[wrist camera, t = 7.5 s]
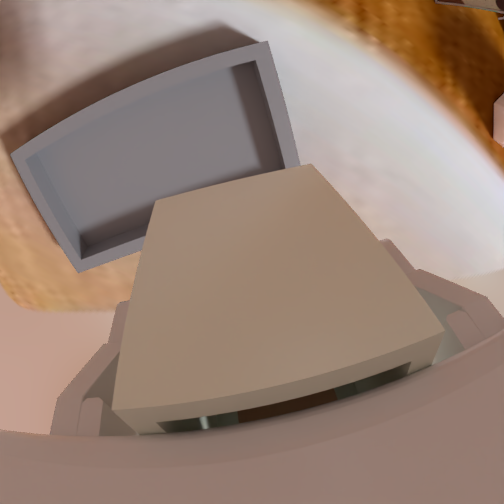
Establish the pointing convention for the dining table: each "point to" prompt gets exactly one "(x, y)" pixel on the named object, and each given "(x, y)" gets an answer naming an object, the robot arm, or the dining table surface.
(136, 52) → the dining table surface
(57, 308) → the dining table surface
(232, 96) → the tray
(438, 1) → the food container
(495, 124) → the jar
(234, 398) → the cup
